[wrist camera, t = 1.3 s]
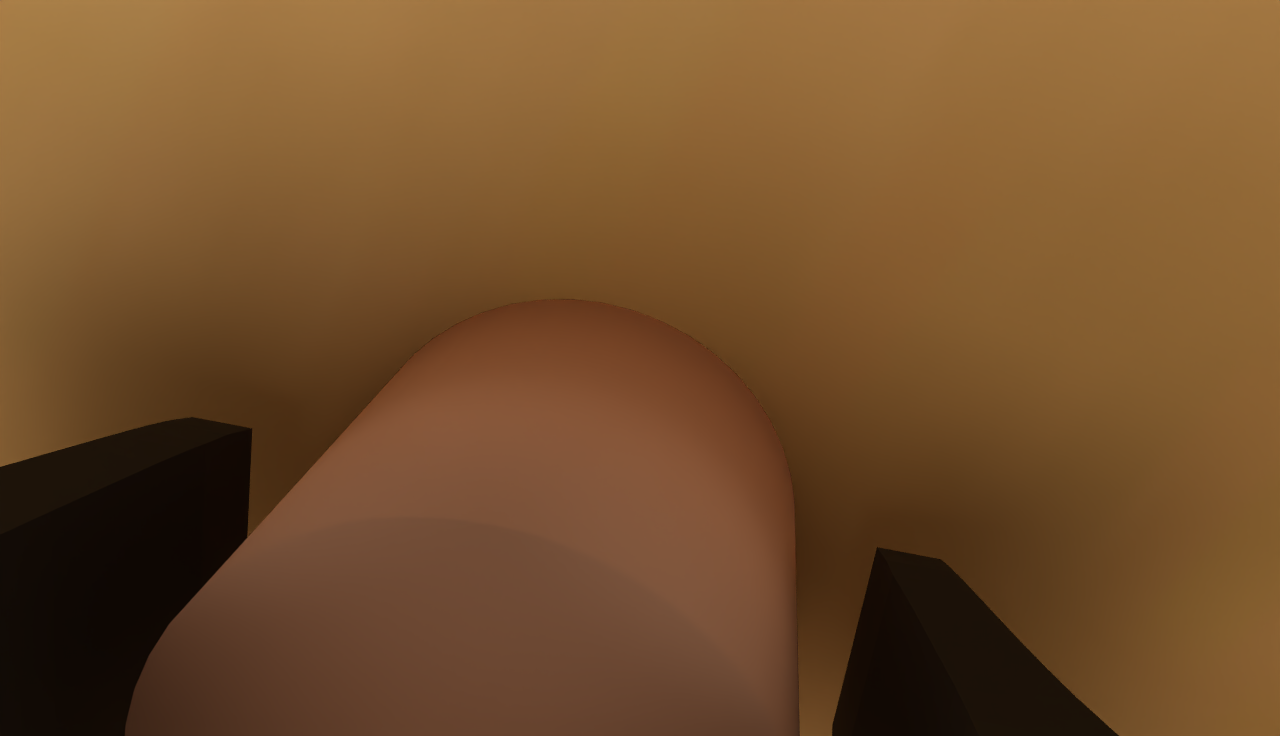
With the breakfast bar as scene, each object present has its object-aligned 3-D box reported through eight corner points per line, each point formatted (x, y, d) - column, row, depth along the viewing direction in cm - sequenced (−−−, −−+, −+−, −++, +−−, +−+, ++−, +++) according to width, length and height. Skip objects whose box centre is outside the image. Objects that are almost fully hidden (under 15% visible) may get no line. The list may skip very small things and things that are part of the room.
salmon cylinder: (837, 345, 12) (872, 597, 7) (750, 736, 14) (732, 1146, 9) (374, 260, 12) (123, 452, 8) (343, 655, 14) (120, 1012, 9)
